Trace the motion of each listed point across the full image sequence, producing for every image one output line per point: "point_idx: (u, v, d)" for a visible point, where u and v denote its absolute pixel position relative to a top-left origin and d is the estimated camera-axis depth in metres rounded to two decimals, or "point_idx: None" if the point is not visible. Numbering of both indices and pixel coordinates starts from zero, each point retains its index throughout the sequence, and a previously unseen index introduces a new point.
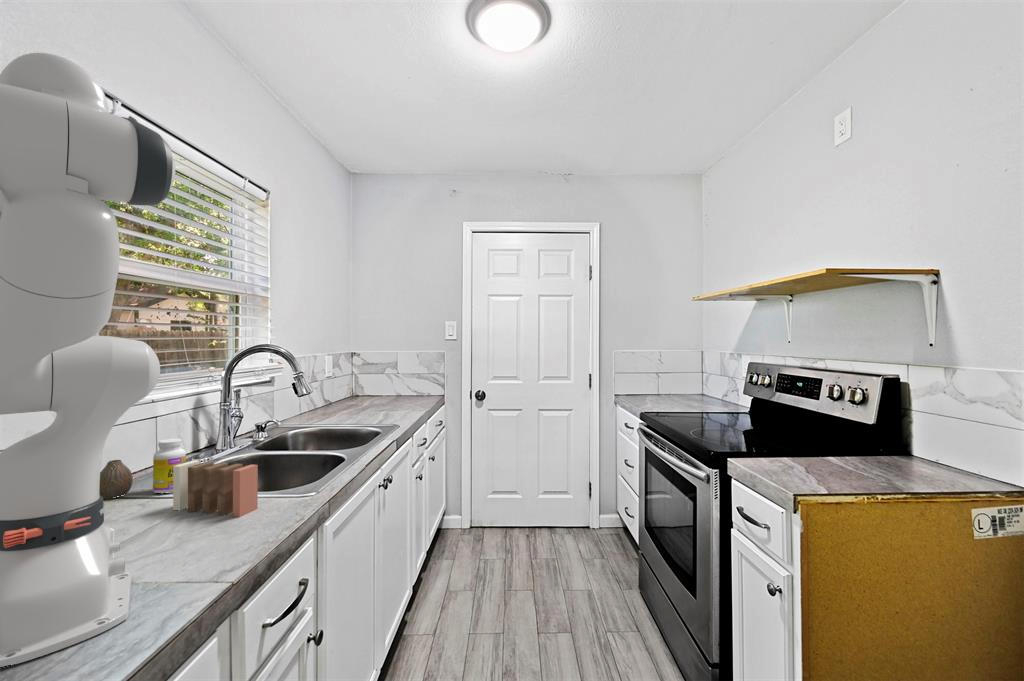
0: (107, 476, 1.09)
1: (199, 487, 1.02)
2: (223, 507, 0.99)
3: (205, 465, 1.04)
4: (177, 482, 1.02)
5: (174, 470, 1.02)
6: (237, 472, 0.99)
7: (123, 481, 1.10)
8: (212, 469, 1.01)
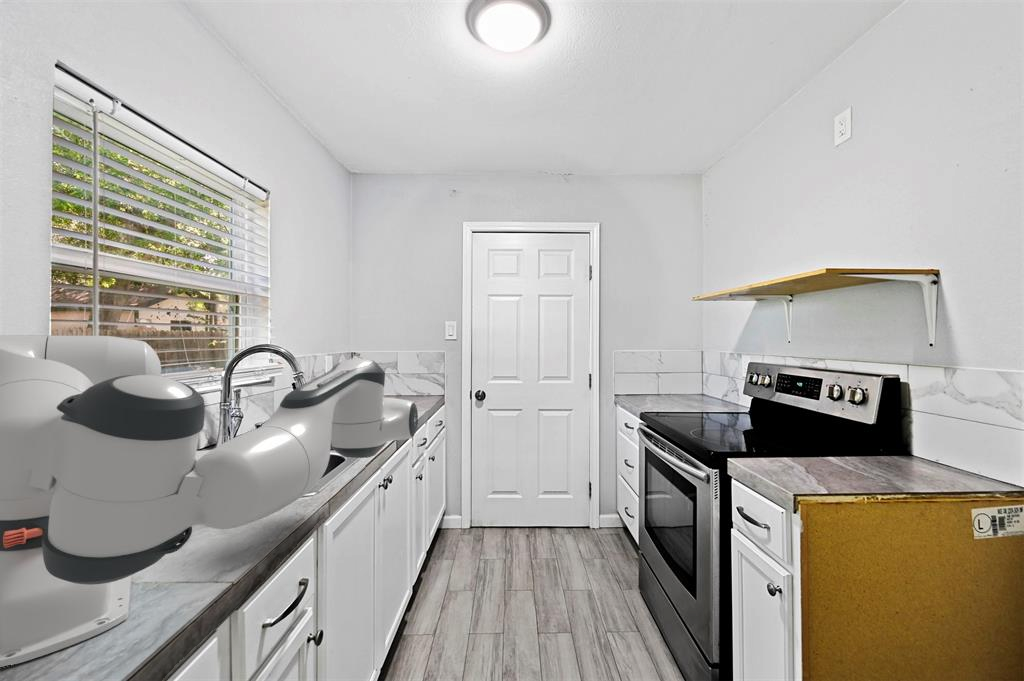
0: None
1: None
2: None
3: None
4: None
5: None
6: None
7: None
8: None
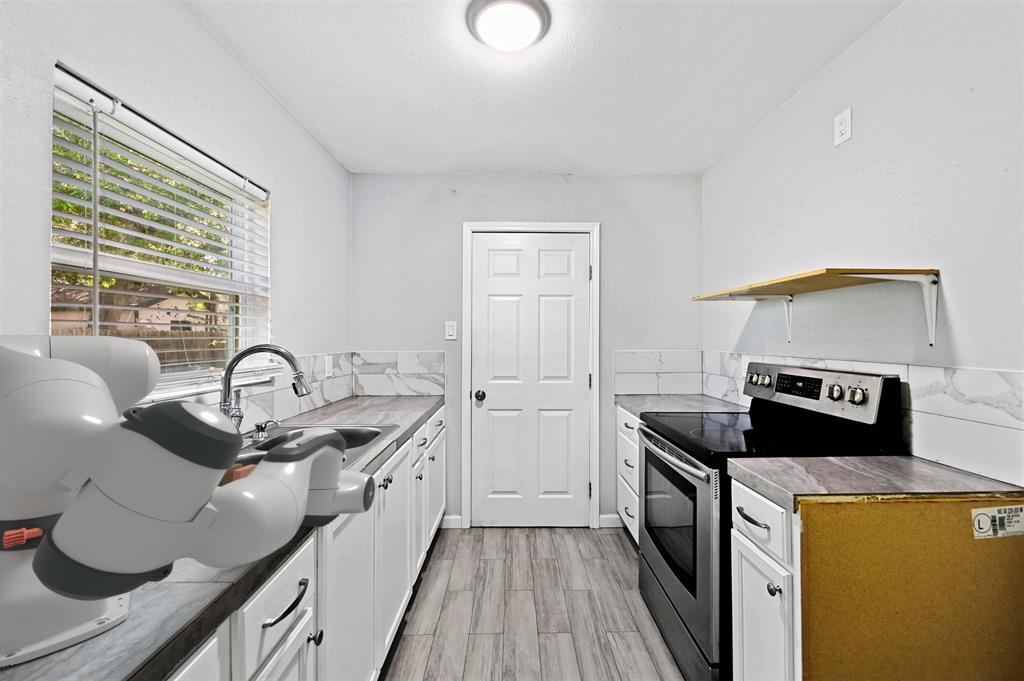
0: None
1: None
2: None
3: None
4: None
5: None
6: (237, 472, 0.99)
7: None
8: None
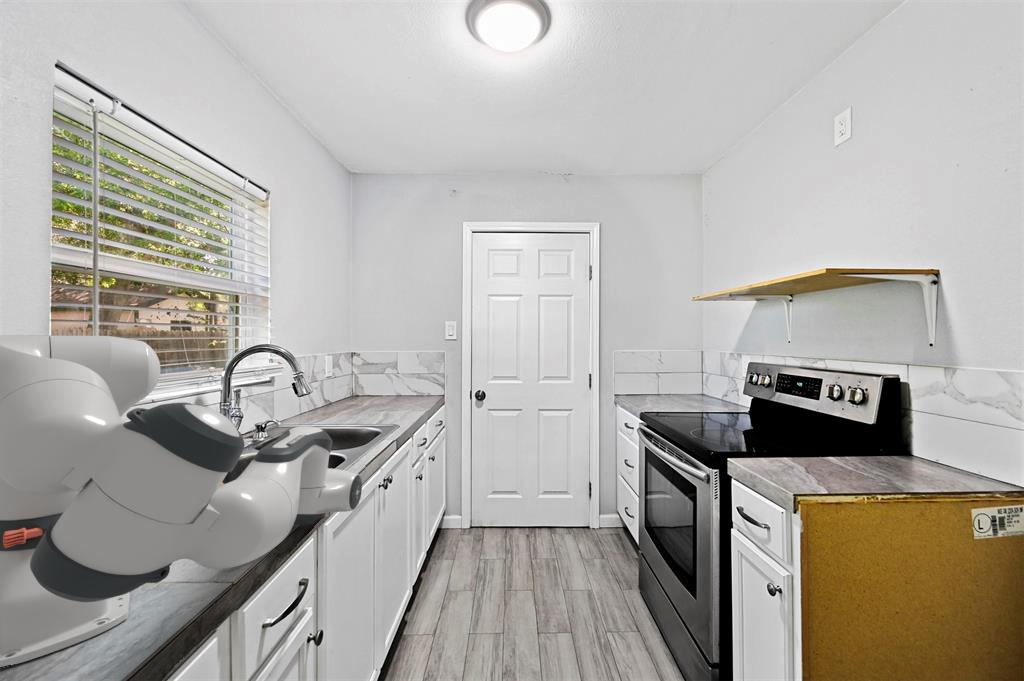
0: None
1: None
2: None
3: None
4: None
5: None
6: None
7: None
8: None
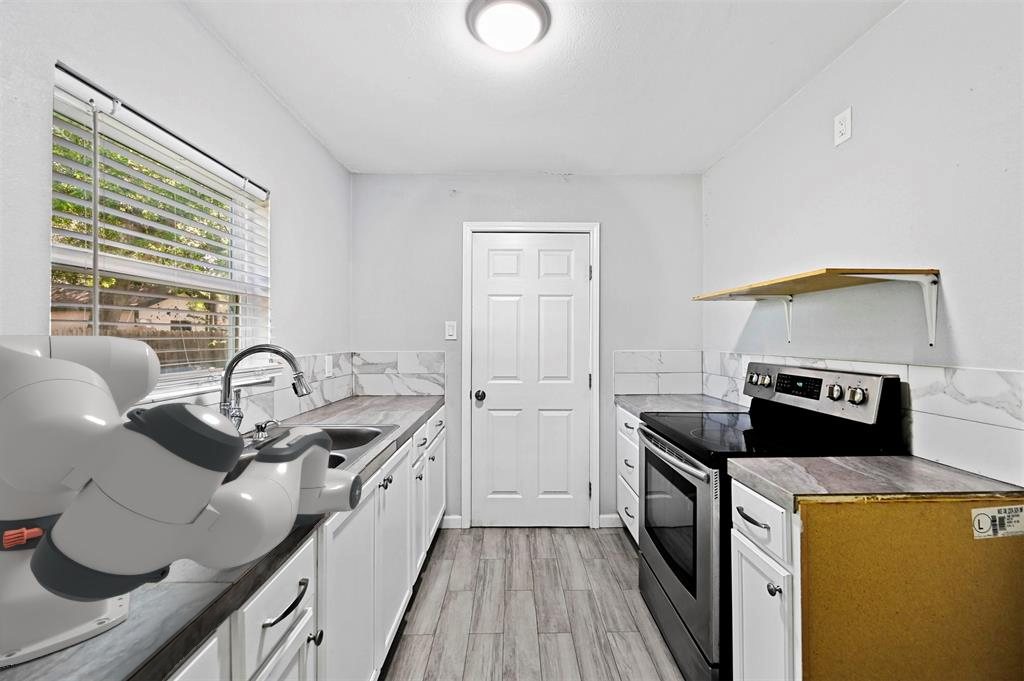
0: None
1: None
2: None
3: None
4: None
5: None
6: None
7: None
8: None
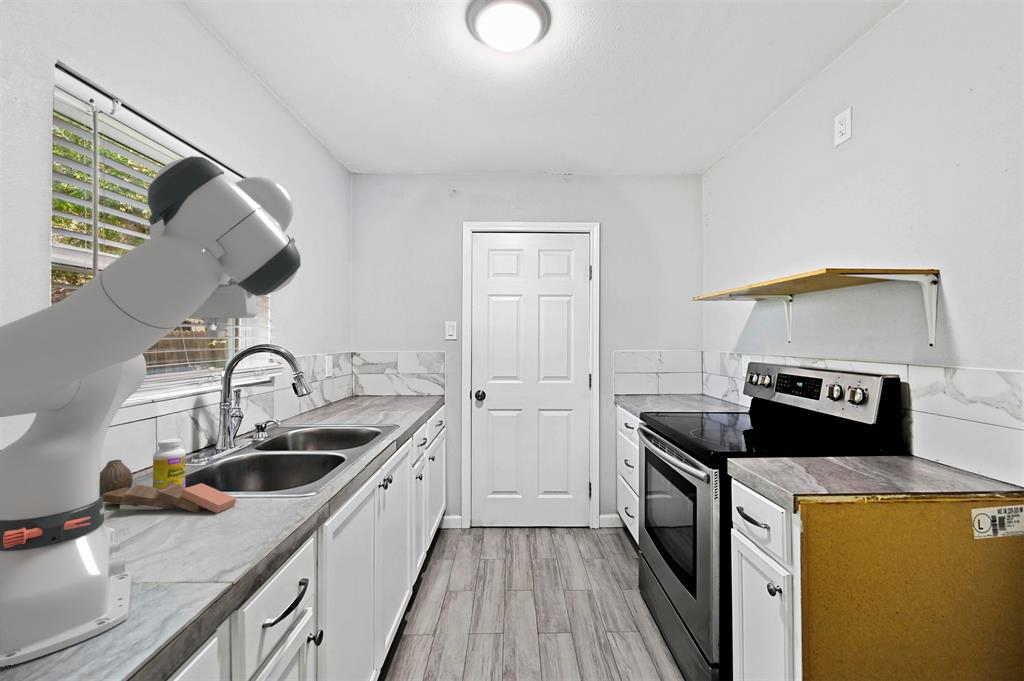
0: (107, 476, 1.09)
1: None
2: (191, 504, 1.01)
3: (116, 490, 1.07)
4: (135, 508, 1.03)
5: None
6: (183, 492, 1.02)
7: (123, 481, 1.10)
8: (128, 492, 1.00)
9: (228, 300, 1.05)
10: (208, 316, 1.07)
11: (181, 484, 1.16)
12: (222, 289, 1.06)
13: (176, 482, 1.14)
